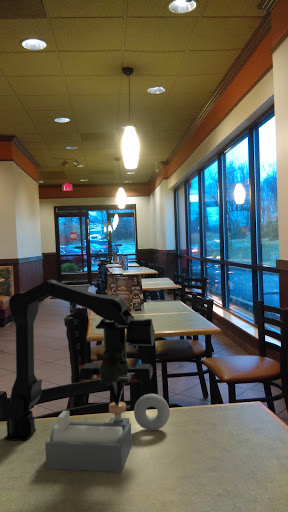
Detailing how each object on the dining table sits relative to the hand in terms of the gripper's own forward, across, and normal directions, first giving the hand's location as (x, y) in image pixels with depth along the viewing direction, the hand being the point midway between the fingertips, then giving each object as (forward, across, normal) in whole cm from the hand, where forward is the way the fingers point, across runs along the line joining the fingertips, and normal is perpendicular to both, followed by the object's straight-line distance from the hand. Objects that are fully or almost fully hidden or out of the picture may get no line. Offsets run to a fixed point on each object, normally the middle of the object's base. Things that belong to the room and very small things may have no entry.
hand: (117, 404), depth 109 cm
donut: (+10, +8, +7) cm, 15 cm away
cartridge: (+8, -6, -9) cm, 14 cm away
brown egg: (+6, 0, 0) cm, 6 cm away
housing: (+10, -5, -6) cm, 13 cm away
